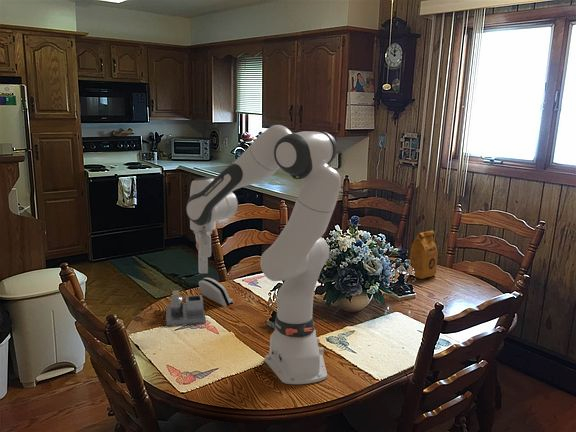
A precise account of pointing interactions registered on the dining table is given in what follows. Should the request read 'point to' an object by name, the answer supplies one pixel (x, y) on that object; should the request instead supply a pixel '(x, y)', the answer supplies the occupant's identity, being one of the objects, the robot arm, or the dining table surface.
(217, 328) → the dining table surface
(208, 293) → the napkin holder
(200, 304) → the grey twin-post block
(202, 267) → the tan capped white cylinder
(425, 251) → the coffee package
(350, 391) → the dining table surface
